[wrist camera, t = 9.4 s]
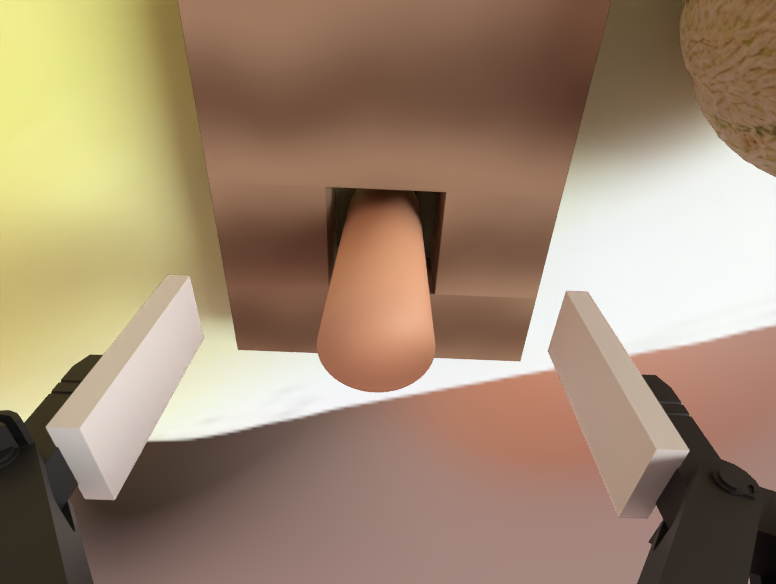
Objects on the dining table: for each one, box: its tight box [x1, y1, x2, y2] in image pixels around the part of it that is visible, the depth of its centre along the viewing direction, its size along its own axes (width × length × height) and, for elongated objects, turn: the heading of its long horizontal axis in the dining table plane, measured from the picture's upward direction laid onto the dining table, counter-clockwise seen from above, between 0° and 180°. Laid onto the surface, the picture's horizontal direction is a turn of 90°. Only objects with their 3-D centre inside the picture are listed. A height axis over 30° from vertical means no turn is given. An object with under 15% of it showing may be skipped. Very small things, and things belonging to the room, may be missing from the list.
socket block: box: [178, 0, 611, 361], centre depth 23 cm, size 18×16×4 cm
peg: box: [317, 188, 435, 392], centre depth 21 cm, size 4×4×12 cm
